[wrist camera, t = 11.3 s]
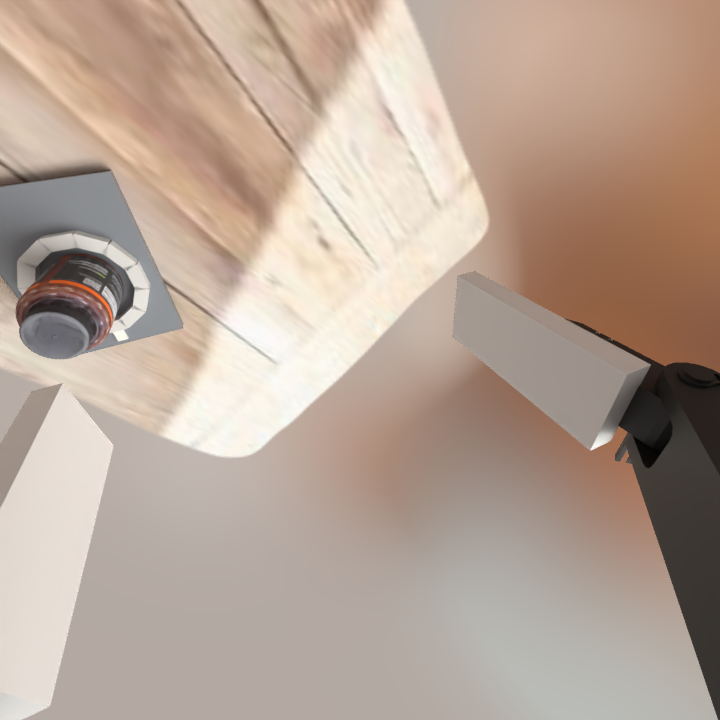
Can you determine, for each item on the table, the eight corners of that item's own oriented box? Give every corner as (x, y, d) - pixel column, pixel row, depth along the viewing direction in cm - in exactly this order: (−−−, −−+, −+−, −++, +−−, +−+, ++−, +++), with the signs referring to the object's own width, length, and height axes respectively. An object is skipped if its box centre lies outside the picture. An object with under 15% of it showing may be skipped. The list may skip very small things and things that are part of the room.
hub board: (-52, 193, 28) (-69, 198, 26) (111, 170, 31) (106, 173, 29) (67, 352, 37) (61, 364, 35) (183, 323, 40) (182, 332, 38)
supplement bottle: (52, 305, 33) (4, 369, 25) (46, 245, 31) (-12, 292, 22) (126, 313, 36) (105, 372, 28) (125, 258, 34) (102, 305, 25)
